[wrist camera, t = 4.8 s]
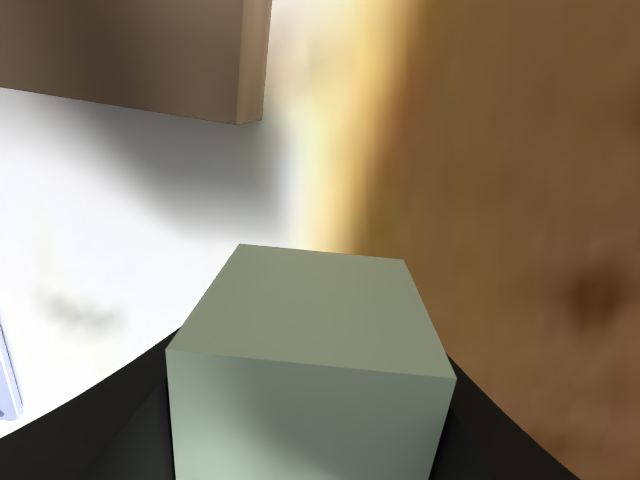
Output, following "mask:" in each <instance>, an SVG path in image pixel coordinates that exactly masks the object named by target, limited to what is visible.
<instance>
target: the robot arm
mask: <svg viewBox="0 0 640 480" xmlns="http://www.w3.org/2000/svg"><path fill="white" fill-rule="evenodd" d="M181 327H182V326H181ZM181 327H180V328H181ZM180 328H178V329H177V330H176V331H174V332H173V333H172V334H170V335H169V336H167V337H166V338H165V339H163V340H162V341H160V342H159V343H158V344H156V345H155V346H153V347H152V348H150V349H149V350H148V351H146V352H145V353H143V354H142V355H140V356H139V357H137V358H136V359H135V360H133V361H132V362H130V363H129V364H127V365H126V366H124V367H122V368H121V369H119V370H118V371H116V372H115V373H113V374H111V375H110V376H108V377H107V378H105V379H104V380H102V381H101V382H99V383H97V384H96V385H94V386H93V387H91V388H90V389H88V390H86V391H85V392H83V393H82V394H80V395H78V396H77V397H75V398H73V399H72V400H70V401H68V402H66V403H65V404H63V405H61V406H59V407H58V408H56V409H54V410H52V411H51V412H49V413H47V414H45V415H43V416H41V417H40V418H38V419H36V420H34V421H32V422H30V423H29V424H27V425H25V426H23V427H21V428H19V429H18V430H16V431H14V432H12V433H10V434H8V435H6V436H4V437H2V438H0V480H176V474H175V462H174V449H173V437H172V425H171V413H170V401H169V388H168V376H167V364H166V352H165V349H166V348H167V347H168V345H169V344H170V342H171V341H172V339H173V338H174V337H175V335H176V334H177V332H178V331H179V329H180ZM446 355H447V354H446ZM447 358H448V360H449V362H450V364H451V366H452V369H453V371H454V373H455V375H456V378H457V380H456V384H455V387H454V391H453V394H452V398H451V401H450V405H449V408H448V412H447V415H446V419H445V422H444V426H443V429H442V433H441V436H440V440H439V443H438V447H437V450H436V454H435V457H434V461H433V464H432V468H431V471H430V475H429V478H428V480H580V479H579V478H578V477H577V476H575V475H574V474H573V473H572V472H570V471H569V470H568V469H567V468H566V467H564V466H563V465H562V464H561V463H559V462H558V461H557V460H556V459H555V458H554V457H552V456H551V455H550V454H549V453H548V452H547V451H546V450H544V449H543V448H542V447H541V446H540V445H539V444H538V443H536V442H535V441H534V440H533V439H532V438H531V437H530V436H529V435H528V434H527V433H526V432H524V431H523V430H522V429H521V428H520V427H519V426H518V425H517V424H516V423H515V422H514V421H513V420H511V419H510V418H509V417H508V416H507V415H506V414H505V413H504V412H503V411H502V410H501V409H500V408H499V407H498V406H497V405H496V404H495V403H494V402H493V401H492V400H491V399H490V398H489V397H488V396H487V395H486V394H485V393H484V392H483V391H482V390H481V389H480V388H479V387H478V386H477V385H476V384H475V383H474V382H473V381H472V380H471V379H470V378H469V377H468V376H467V375H466V374H465V373H464V372H463V371H462V369H461V368H460V367H459V366H458V365H457V364H456V363H455V362H454V361H453V360H452V359H451V358H450V357H449V356H448V355H447ZM22 414H23V407H22V403H21V400H20V396H19V392H18V389H17V385H16V382H15V378H14V374H13V371H12V367H11V364H10V360H9V356H8V353H7V349H6V346H5V342H4V338H3V335H2V331H1V328H0V420H9V421H13V420H17V419H18V418H19V417H20V416H21V415H22Z"/></svg>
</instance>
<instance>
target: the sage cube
mask: <svg viewBox="0 0 640 480" xmlns="http://www.w3.org/2000/svg"><path fill="white" fill-rule="evenodd" d="M165 352H166V364H167V376H168V388H169V401H170V413H171V425H172V437H173V449H174V462H175V474H176V480H428V478H429V475H430V471H431V468H432V464H433V461H434V457H435V454H436V450H437V447H438V443H439V440H440V436H441V433H442V429H443V426H444V422H445V419H446V415H447V412H448V408H449V405H450V401H451V398H452V394H453V391H454V387H455V384H456V380H457V378H456V375H455V373H454V371H453V369H452V366H451V364H450V362H449V360H448V358H447V355H446V353H445V351H444V349H443V346H442V344H441V342H440V340H439V338H438V335H437V333H436V331H435V329H434V326H433V324H432V322H431V320H430V317H429V315H428V313H427V311H426V309H425V306H424V304H423V302H422V300H421V297H420V295H419V293H418V291H417V288H416V286H415V284H414V282H413V280H412V277H411V275H410V273H409V271H408V268H407V266H406V264H405V262H404V260H401V259H391V258H381V257H370V256H360V255H350V254H340V253H329V252H319V251H309V250H299V249H288V248H278V247H268V246H258V245H247V244H239V245H238V246H237V248H236V249H235V251H234V252H233V254H232V255H231V256H230V258H229V259H228V261H227V262H226V264H225V265H224V267H223V268H222V269H221V271H220V272H219V274H218V275H217V277H216V278H215V279H214V281H213V282H212V284H211V285H210V287H209V288H208V289H207V291H206V292H205V294H204V295H203V297H202V298H201V299H200V301H199V302H198V304H197V305H196V307H195V308H194V309H193V311H192V312H191V314H190V315H189V317H188V318H187V319H186V321H185V322H184V324H183V325H182V327H181V328H180V329H179V331H178V332H177V334H176V335H175V337H174V338H173V339H172V341H171V342H170V344H169V345H168V347H167V348H166V349H165Z"/></svg>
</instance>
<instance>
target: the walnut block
mask: <svg viewBox="0 0 640 480" xmlns="http://www.w3.org/2000/svg"><path fill="white" fill-rule="evenodd" d="M271 6H272V0H0V87H3V88H9V89H15V90H22V91H28V92H34V93H40V94H47V95H53V96H59V97H65V98H71V99H78V100H84V101H90V102H96V103H103V104H109V105H115V106H121V107H128V108H134V109H140V110H146V111H152V112H159V113H165V114H171V115H177V116H184V117H190V118H196V119H202V120H209V121H215V122H221V123H227V124H233V125H238V124H243V123H249V122H254V121H259V120H262V110H263V98H264V86H265V75H266V63H267V52H268V40H269V29H270V17H271Z"/></svg>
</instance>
